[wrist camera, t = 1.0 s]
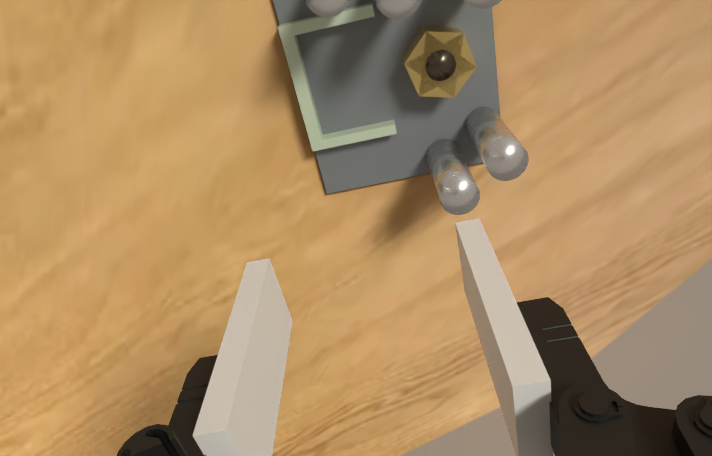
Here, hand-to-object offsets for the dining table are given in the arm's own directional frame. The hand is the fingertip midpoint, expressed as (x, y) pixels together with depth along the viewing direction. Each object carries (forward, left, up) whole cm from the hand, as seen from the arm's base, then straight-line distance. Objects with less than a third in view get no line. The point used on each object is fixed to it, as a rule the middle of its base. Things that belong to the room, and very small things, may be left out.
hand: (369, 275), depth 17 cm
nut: (+6, 0, -26) cm, 27 cm away
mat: (+3, 0, -27) cm, 27 cm away
